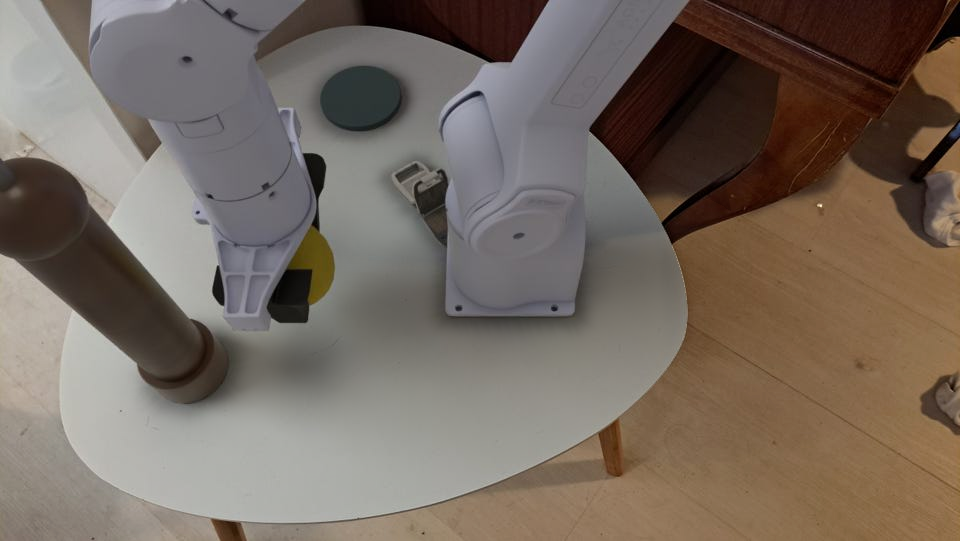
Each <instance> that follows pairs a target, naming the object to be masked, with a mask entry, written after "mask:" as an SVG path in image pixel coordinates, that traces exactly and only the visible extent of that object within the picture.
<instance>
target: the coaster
mask: <svg viewBox="0 0 960 541" xmlns="http://www.w3.org/2000/svg"><path fill="white" fill-rule="evenodd" d="M401 91H402V90H401V87H400V84H399V82H398V81H397V79H396V78H395V77H394V76H393V75H392V74H391V73H390V72H388V71H387V70H385V69H382V68H380V67H377V66H373V65H356V66H355V65H354V66H349V67H347V68H344V69H342V70H340V71H338V72H337V73H334V74H333V75H332V76H331V77H329V79H328V80H327V81H326V82H325V83H324V85H323V87H322V89H321V92H320V95H319V101H320V107H321V110H322V113H323V115H324V116H325V118H326V120H328V121H329V122H330V123H331V124H333V125H334V126H336V127H338V128H340V129H343V130H347V131H353V132H354V131H355V132H360V131H361V132H362V131H363V132H364V131H370V130H373V129H375V128H376V129H377V128H378V127H381V126H382V125H385V124H386V123H387V122H389V121H390V120H391V119H392V118H393V117H394V116H395V115H396V113H398V110H399V108H400V106H401V102H402V92H401Z"/></svg>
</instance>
